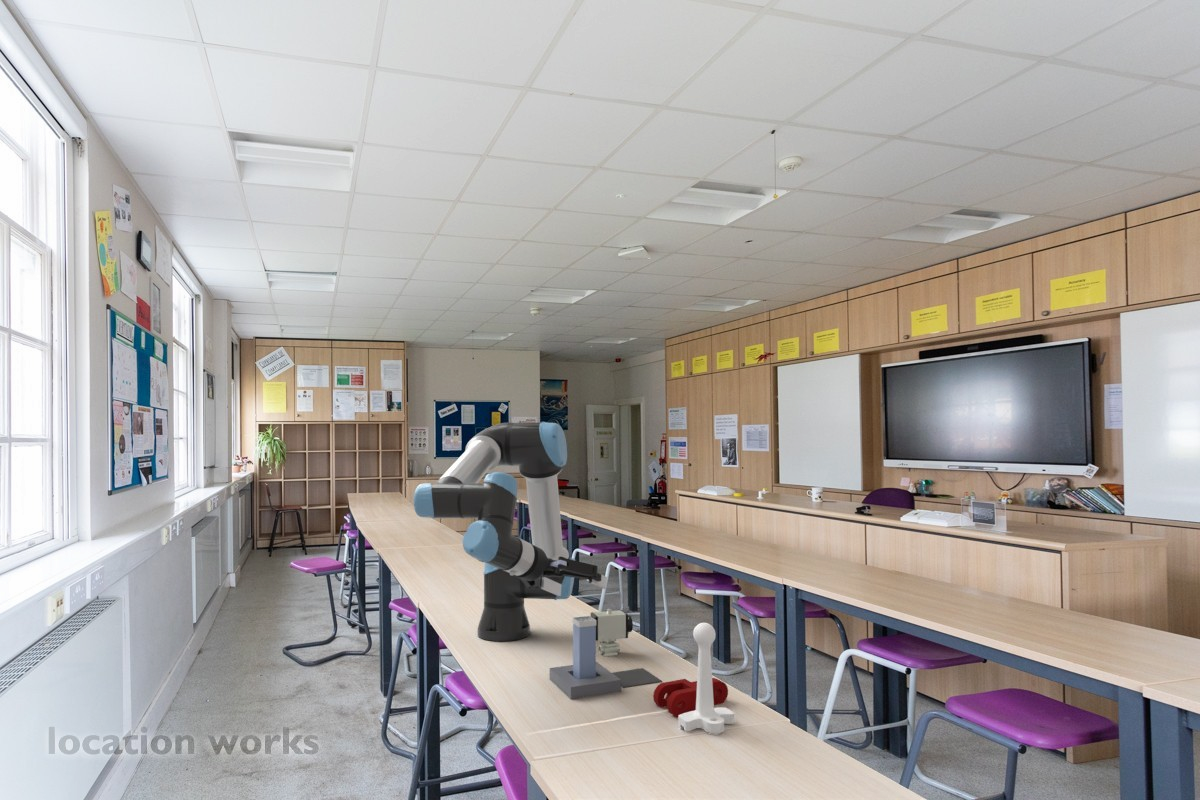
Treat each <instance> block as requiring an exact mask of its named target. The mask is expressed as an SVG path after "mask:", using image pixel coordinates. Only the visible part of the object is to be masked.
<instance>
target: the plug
mask: <svg viewBox="0 0 1200 800" xmlns="http://www.w3.org/2000/svg"><path fill="white" fill-rule="evenodd" d="M590 616H591V615H586V616H575V617H572V628H573V631H572V665H573V677H575V678H576V679H584V678H591V677H596V662H597V661H596V660H597V655H596V654H597V648H596V647H597V641H596V620H595V619H594V618H592V617H590Z"/></svg>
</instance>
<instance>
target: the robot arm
mask: <svg viewBox="0 0 1200 800" xmlns="http://www.w3.org/2000/svg"><path fill="white" fill-rule="evenodd" d="M567 444H568V443H567V439H566V434H565V432H564V430H563V428H562V426H561V425H560V424H558V423H556V422H546V421H540V422H501V423H497V424H494V425H492V426H490V427H488V428H485V429H483V430H482V431H480V432H478V433H476V435H474V436H473V437H472V438H471V439H469V441H468V442H467V444H466V445H465V450H464V452H463V453H462V454H461V455H460V456H459V457H458V459H457V460H456V461H454V463H453V464H451V466H450V467H449V468H448V469H447V470H446V471H445V472H444V473H443V474H442V476H440V478H438V480H437V481H435V483H434V482H428V483H427V482H426V483H419V485H417V487H416V488H415V490H414V494H413V509H414V512H415V513H416V515H417V516H418V517H420V518H427V519H433V520H435V519H476V521H473V522H472V523H470V524H469V525H468V526H467V528H466V532H465V533H464V534H463V537H462V547H463V548H462V549H464V552H465V553H466V554H467V555H469V556H471V558H474V559H476V560H478V562H481V563H484V568H483V569H484V571H483V609H482V612H481V616H480V619H479V622H478V626H477V637H478V638H480V639H483V640H485V641H493V642H509V641H516V640H521V639H524V638H526V637H528V636H530V634H531V624H530V621H529V618H528V615H527V611H526V609H525V608H526V607H525V599H534V600H536V599H537V600H538V599H539V600H554V601H557V600H567V599H569V598H570V597H571V595H572V591H573V588H574V583H575V578H576V579H582V580H583V579H584V580H586V582H588V583H590V584H592V585H595V586H597V587H599V588H601V589H603V590H605V589H607V585H608V584H607V582H608V576H606V575H604V574H602V573H601V572H598V567H599V566H598V565H596V564H591V563H586V562H582V561H578V560H576V559H575V558H573V557H570V553H569V550H568V548H566V547H564V546H563V545H564V544H563V533H562V532H563V531H562V520H561V519H562V518H561V505H560V495H559V485H558V475H559V474H560V473H561V472H562V471H563V467H564V466H566V464H567V461H568V450H567V449H568V445H567ZM499 466H510V467H513V466H514V467H515V466H516V467H517V466H518V469H519V475H520V476H522V477H523V478H524V479H525V481H526V482H525V485H526V493H527V503H528V504H527V505H528V513H529V514H528V515H529V523H530V525H529V526H530V534H531V535H530V536H531V542H532V543H530V542H528V541H526V540H524V539H522V538H520V537H518V536H515V535H514V534H513V530H514V528H513V527H514V519H515V513H516V508H517V501H518V497H517V496H518V486H519V483H518V480H517V479H516V478H515V476H513V475H512V474H510V473H506V472H500V471H494V472H491V473H487V472H488V471H491V470H494V469H495V468H496V467H499ZM484 476H485V477H484ZM483 477H484V479H483ZM482 479H483V483H479V482H480V481H481V480H482Z"/></svg>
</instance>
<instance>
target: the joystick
mask: <svg viewBox="0 0 1200 800" xmlns="http://www.w3.org/2000/svg"><path fill="white" fill-rule="evenodd" d="M692 633H693V634H692V635H693V636H692V637H693V639H694V641H695V642H696V644H697V646H698V651H697V653H698V654H697V657H698V658H697V675H696V676H697V678H696V679H697V680H696V681H697V694H696V710H694V711H690V712H686V713H683V714H680V715H678V718H677V719H678V720H677V721H678V726H677V727H678V729H680V730H683V731H686V732H691V731H693V730H695V729H702V730H704V731H705V732H706V733H707V734H709V733H710V735H714V734H717V735H721V734H722V733H723V732H725V724H734V723H735V713H734V711H732V710H730V709H729V708H728V707H715V705H714V700H713V684H712V678H713V672H712V671H713V669H712V668H713V667H712V656H711V655H712V653H711V646H712V644H713V643H714V642H715V640H716V630H715V628H714V627H713V625H711V624H710V623H708V622H700V623H698V624H697V625H696V626H694V628H693V632H692ZM720 733H721V734H720Z"/></svg>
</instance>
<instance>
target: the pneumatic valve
mask: <svg viewBox="0 0 1200 800" xmlns="http://www.w3.org/2000/svg"><path fill="white" fill-rule="evenodd" d="M589 616H590V617H592V618H594V619H595V620H596V642H600V641H601V642H600V644H599V645H598V654H599V655H602V657H613V656H618V655H619V654H618V653H620V651H621V647H620V643H618V642H616V641H617V640H619V639H620V640H621V639H629V635H630V633H631V632H633V629H634V624H633V618H632V616H631V615H630V614H628V613H627V612H626V611H624V610H622V609H619V610H618V609H617V610H612V609H611V608H607V610H606V611H596V612H595V611H593V612H590V615H589Z"/></svg>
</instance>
